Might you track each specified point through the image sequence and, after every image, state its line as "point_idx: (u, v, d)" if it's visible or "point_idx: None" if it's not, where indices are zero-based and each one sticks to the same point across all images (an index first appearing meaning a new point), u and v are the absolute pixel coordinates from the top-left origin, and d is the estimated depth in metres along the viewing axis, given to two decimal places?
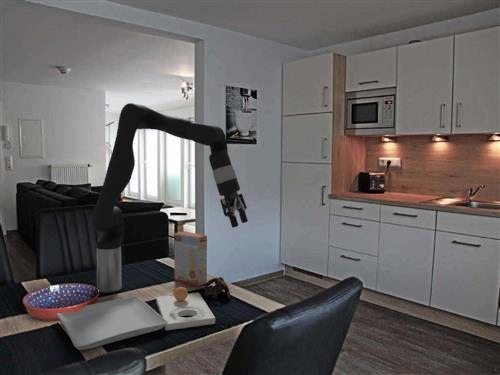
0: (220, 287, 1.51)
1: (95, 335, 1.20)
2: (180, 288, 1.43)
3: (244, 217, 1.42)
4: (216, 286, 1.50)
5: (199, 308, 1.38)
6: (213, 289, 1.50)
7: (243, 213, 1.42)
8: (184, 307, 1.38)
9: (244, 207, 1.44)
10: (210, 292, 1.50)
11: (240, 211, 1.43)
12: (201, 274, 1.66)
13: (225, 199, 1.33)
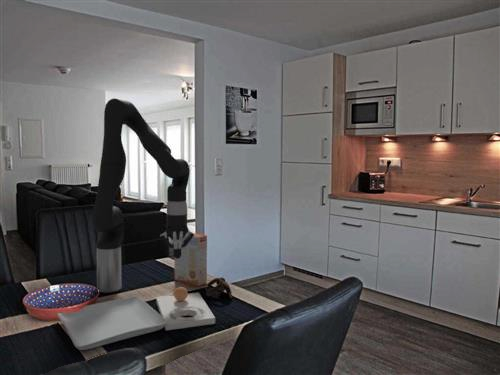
0: (222, 287, 1.50)
1: (96, 335, 1.20)
2: (180, 288, 1.43)
3: None
4: (218, 286, 1.50)
5: (199, 308, 1.38)
6: (215, 289, 1.49)
7: None
8: (184, 307, 1.38)
9: (183, 244, 1.50)
10: (212, 292, 1.50)
11: (177, 245, 1.50)
12: (201, 274, 1.66)
13: (161, 237, 1.47)
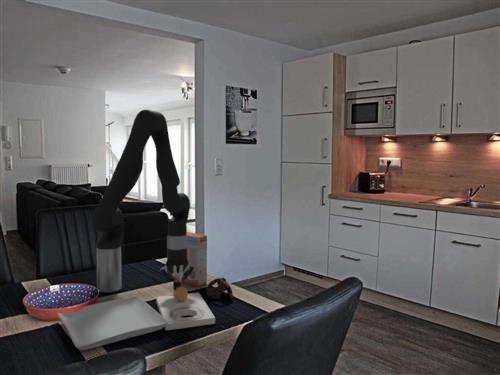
0: (223, 287, 1.50)
1: (96, 335, 1.20)
2: (180, 288, 1.43)
3: (177, 287, 1.51)
4: (219, 287, 1.50)
5: (199, 308, 1.38)
6: (216, 290, 1.49)
7: None
8: (184, 307, 1.38)
9: (183, 277, 1.51)
10: (213, 293, 1.49)
11: (177, 278, 1.52)
12: (201, 274, 1.66)
13: (161, 271, 1.48)
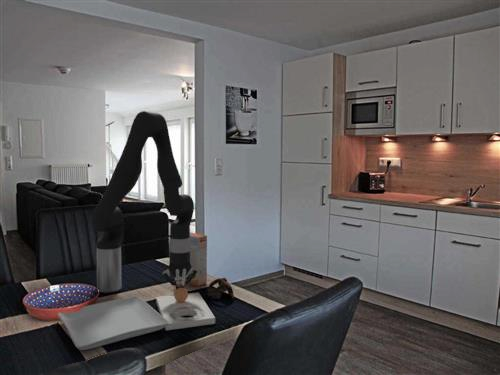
0: (224, 288, 1.50)
1: (96, 335, 1.20)
2: (181, 290, 1.42)
3: None
4: (220, 287, 1.49)
5: (199, 308, 1.38)
6: (217, 290, 1.49)
7: (180, 287, 1.46)
8: (184, 307, 1.38)
9: (186, 281, 1.47)
10: (214, 293, 1.49)
11: (180, 282, 1.47)
12: (201, 274, 1.66)
13: None
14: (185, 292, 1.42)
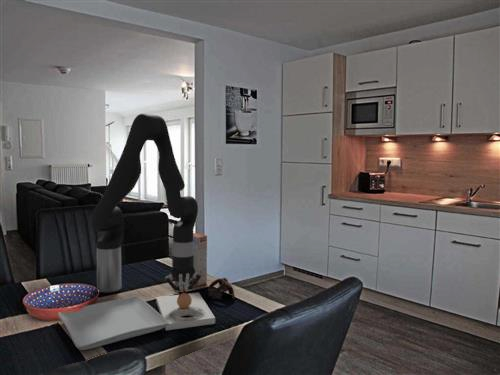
0: (225, 288, 1.50)
1: (96, 335, 1.20)
2: (184, 307, 1.37)
3: None
4: (221, 287, 1.49)
5: (199, 308, 1.38)
6: (218, 290, 1.49)
7: (183, 292, 1.41)
8: None
9: (189, 286, 1.41)
10: (215, 293, 1.49)
11: (183, 288, 1.42)
12: (201, 274, 1.66)
13: (166, 280, 1.38)
14: (188, 306, 1.38)
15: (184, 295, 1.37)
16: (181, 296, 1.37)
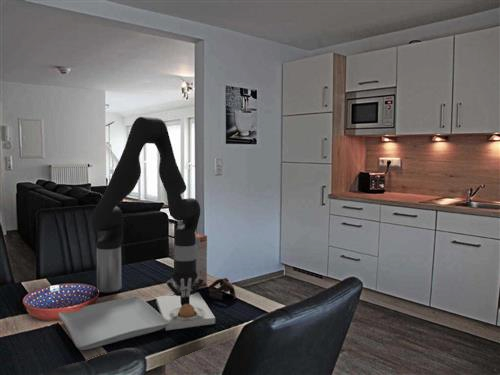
0: (226, 288, 1.50)
1: (97, 335, 1.20)
2: None
3: None
4: (222, 287, 1.49)
5: (199, 308, 1.38)
6: (219, 290, 1.49)
7: None
8: None
9: (191, 291, 1.37)
10: (216, 293, 1.49)
11: (185, 292, 1.37)
12: (201, 274, 1.66)
13: None
14: None
15: None
16: None
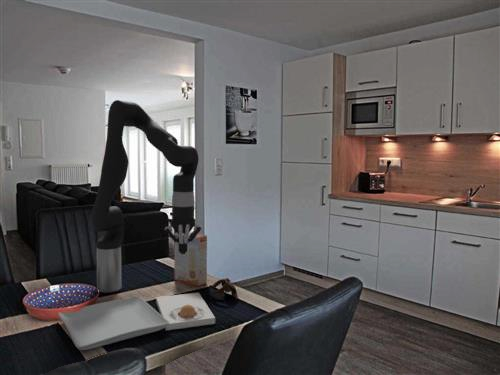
0: (228, 288, 1.49)
1: (96, 335, 1.20)
2: None
3: None
4: (224, 287, 1.49)
5: (199, 308, 1.38)
6: (221, 290, 1.48)
7: None
8: None
9: (189, 238, 1.38)
10: (218, 294, 1.49)
11: (183, 240, 1.39)
12: (201, 274, 1.66)
13: None
14: None
15: None
16: None
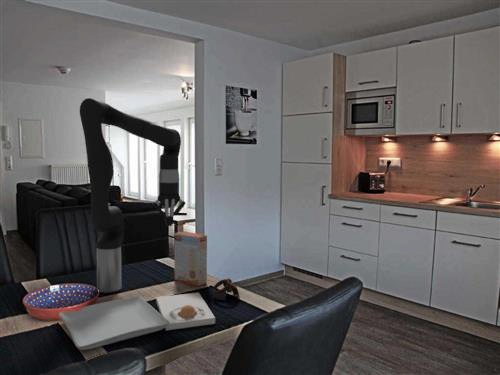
0: (230, 289, 1.49)
1: (97, 335, 1.20)
2: None
3: None
4: (226, 288, 1.49)
5: (199, 308, 1.38)
6: (223, 291, 1.48)
7: None
8: None
9: (175, 211, 1.54)
10: (220, 294, 1.48)
11: (169, 213, 1.54)
12: (201, 274, 1.66)
13: (153, 204, 1.51)
14: None
15: None
16: None
